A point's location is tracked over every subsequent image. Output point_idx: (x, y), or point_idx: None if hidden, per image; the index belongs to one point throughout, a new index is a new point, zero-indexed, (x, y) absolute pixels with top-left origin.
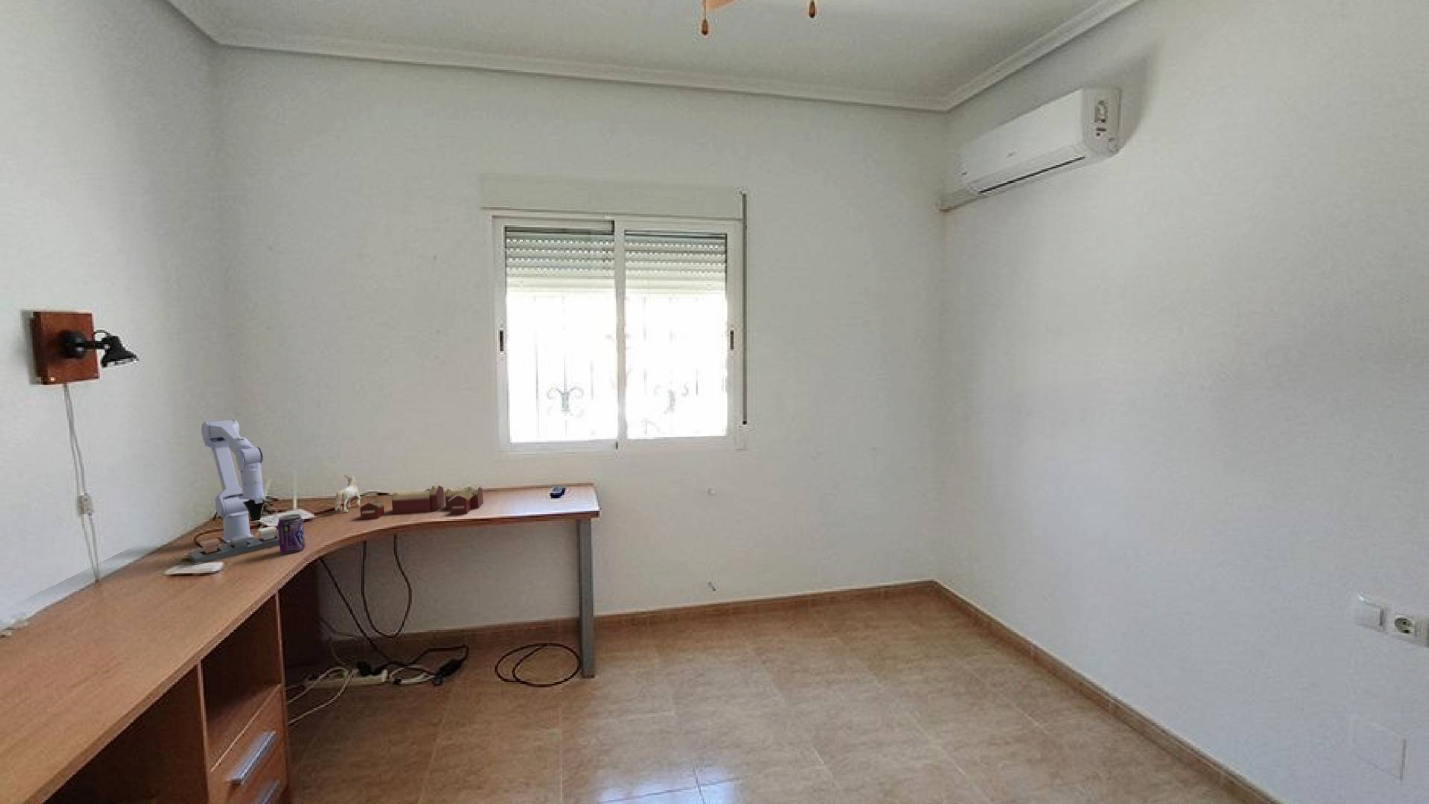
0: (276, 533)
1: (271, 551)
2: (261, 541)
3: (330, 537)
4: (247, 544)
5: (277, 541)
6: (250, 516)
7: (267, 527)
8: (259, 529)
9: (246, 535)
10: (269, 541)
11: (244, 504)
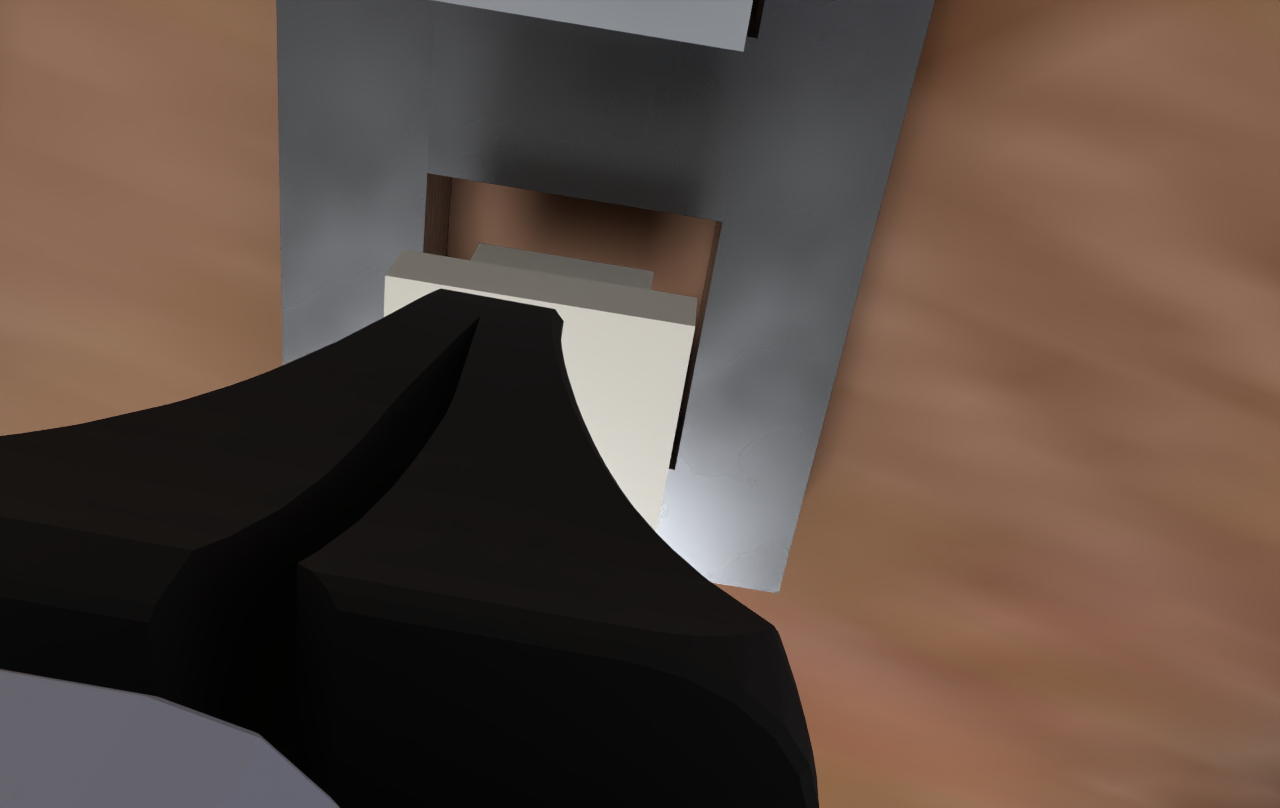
0: (789, 540)
1: (37, 109)
2: (713, 253)
3: None
4: (757, 22)
5: (293, 346)
6: (510, 343)
7: (654, 485)
8: (645, 336)
9: (622, 20)
10: (324, 256)
11: (681, 593)
